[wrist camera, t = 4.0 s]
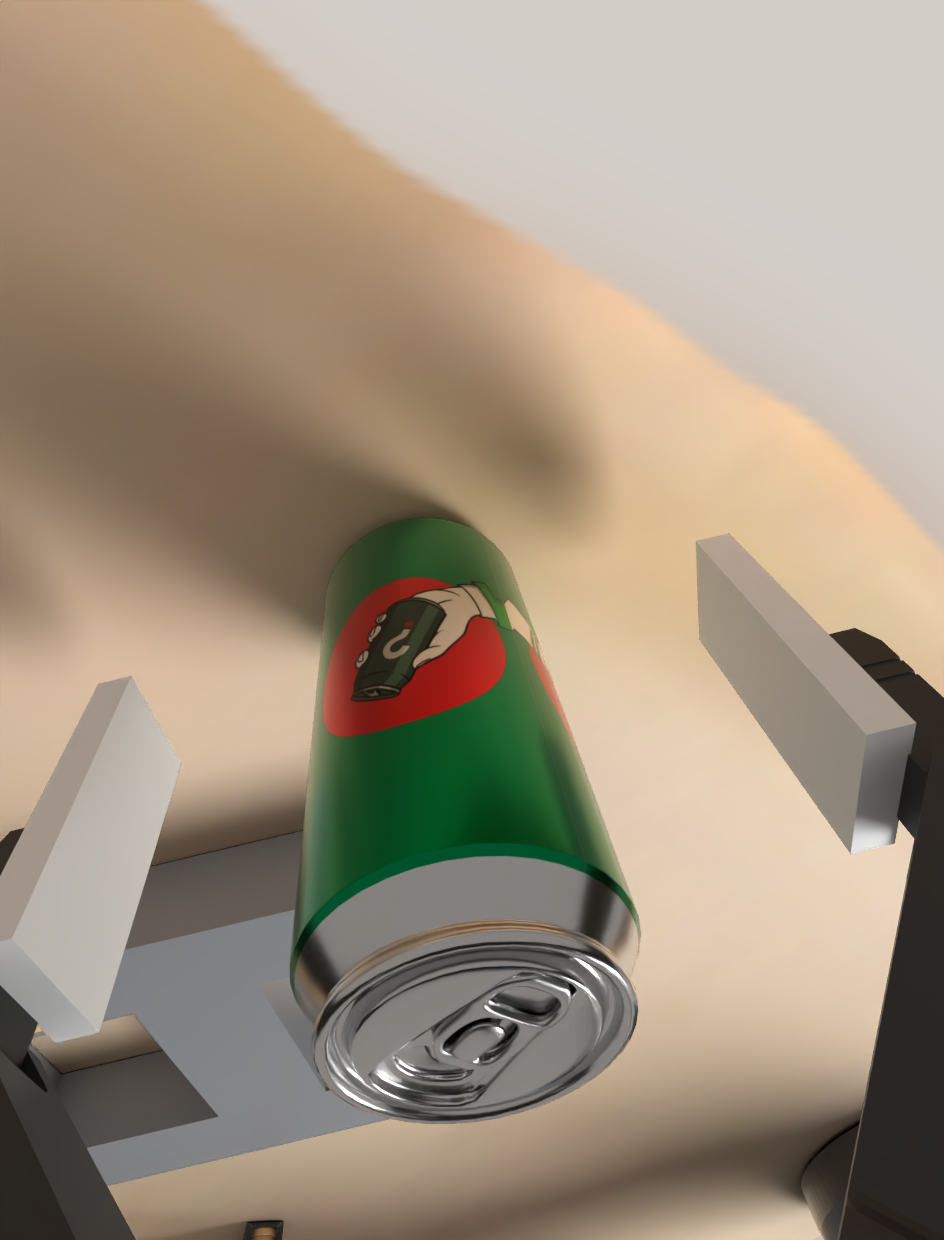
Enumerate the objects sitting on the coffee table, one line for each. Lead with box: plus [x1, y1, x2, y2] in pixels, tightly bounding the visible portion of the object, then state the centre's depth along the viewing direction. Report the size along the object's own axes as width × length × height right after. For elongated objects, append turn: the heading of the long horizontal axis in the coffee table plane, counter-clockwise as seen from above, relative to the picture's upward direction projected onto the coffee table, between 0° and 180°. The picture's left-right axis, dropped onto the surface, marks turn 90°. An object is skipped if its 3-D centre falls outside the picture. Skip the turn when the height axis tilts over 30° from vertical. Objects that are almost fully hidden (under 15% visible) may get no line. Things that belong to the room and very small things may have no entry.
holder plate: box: [29, 831, 388, 1186], centre depth 26 cm, size 24×13×3 cm, turn 102°
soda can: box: [289, 518, 641, 1124], centre depth 15 cm, size 5×5×12 cm
